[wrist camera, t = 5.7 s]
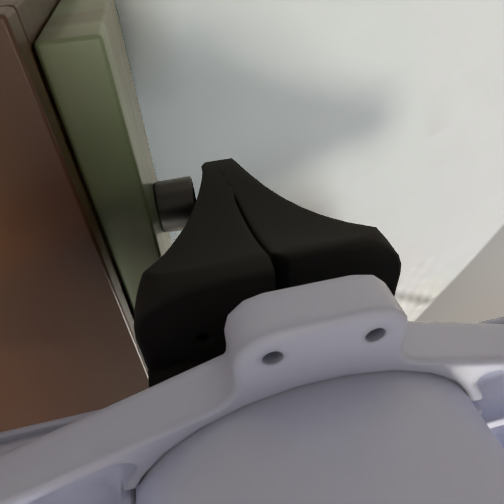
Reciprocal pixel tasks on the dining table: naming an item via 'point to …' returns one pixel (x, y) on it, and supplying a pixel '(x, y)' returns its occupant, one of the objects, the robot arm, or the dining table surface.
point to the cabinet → (52, 257)
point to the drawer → (109, 136)
